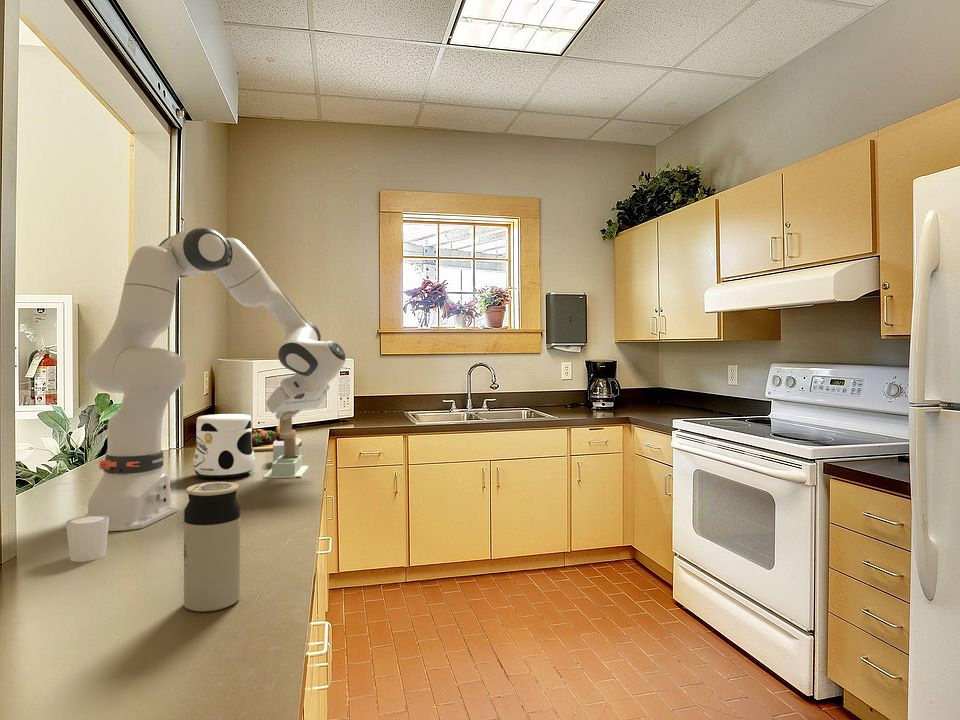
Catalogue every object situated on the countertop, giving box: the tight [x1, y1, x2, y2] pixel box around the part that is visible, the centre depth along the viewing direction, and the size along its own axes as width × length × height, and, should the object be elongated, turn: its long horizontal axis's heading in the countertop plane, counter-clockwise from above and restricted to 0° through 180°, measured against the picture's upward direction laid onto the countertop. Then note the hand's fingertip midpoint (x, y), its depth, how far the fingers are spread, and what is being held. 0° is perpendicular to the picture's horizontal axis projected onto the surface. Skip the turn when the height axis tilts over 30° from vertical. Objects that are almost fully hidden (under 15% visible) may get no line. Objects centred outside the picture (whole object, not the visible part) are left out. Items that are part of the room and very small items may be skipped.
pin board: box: [262, 429, 310, 479], centre depth 195 cm, size 16×11×13 cm
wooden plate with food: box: [251, 423, 303, 453], centre depth 247 cm, size 32×32×8 cm
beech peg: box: [279, 411, 293, 439], centre depth 192 cm, size 4×4×12 cm
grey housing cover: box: [272, 440, 300, 463], centre depth 209 cm, size 10×8×7 cm
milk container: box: [192, 413, 256, 479], centre depth 189 cm, size 17×17×18 cm
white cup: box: [65, 515, 109, 563], centre depth 116 cm, size 7×7×7 cm
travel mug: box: [183, 481, 241, 613], centre depth 96 cm, size 8×8×18 cm
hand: (284, 416), depth 192 cm, fingers closed on beech peg, 4 cm apart
